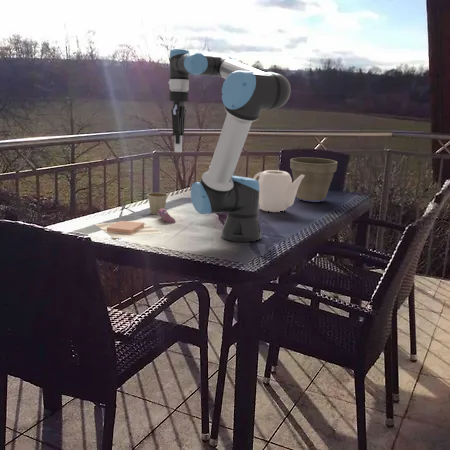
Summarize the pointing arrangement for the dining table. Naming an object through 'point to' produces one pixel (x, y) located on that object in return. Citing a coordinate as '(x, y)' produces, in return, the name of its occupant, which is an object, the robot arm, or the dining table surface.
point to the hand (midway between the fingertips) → (178, 151)
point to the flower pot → (157, 202)
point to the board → (142, 231)
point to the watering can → (277, 190)
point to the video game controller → (165, 216)
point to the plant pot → (313, 176)
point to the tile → (125, 227)
